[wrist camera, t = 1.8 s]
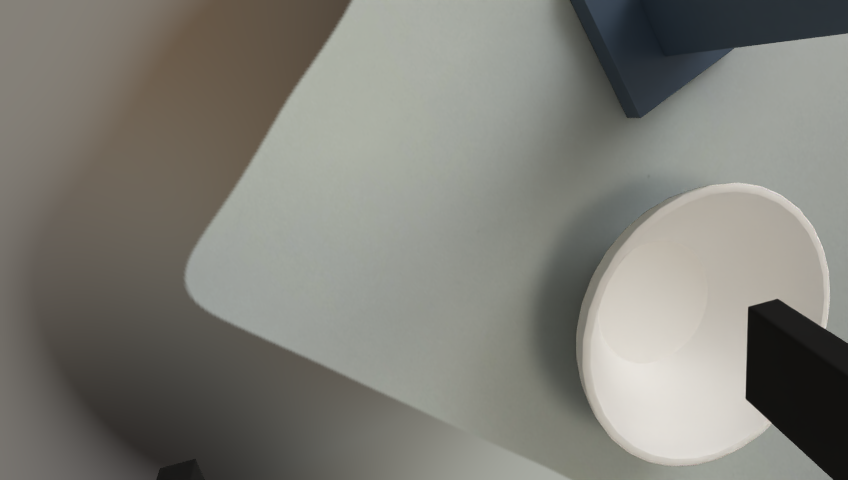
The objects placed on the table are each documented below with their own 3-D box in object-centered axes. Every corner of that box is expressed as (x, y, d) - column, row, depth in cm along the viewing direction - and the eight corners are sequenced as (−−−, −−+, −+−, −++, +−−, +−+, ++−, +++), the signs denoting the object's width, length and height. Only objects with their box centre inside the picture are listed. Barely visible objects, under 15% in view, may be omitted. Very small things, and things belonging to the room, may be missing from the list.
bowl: (708, 427, 50) (777, 474, 43) (502, 406, 44) (547, 458, 37) (782, 201, 47) (867, 215, 41) (573, 144, 41) (635, 151, 34)
